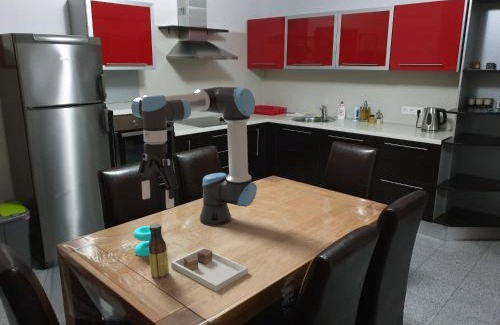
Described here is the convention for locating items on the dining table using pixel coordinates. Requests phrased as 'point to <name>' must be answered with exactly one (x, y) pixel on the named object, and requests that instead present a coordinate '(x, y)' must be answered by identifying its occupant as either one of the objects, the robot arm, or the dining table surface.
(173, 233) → the dining table surface
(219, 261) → the tray
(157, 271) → the sauce bottle
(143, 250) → the donuts
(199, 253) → the walnut block
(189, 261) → the walnut block
